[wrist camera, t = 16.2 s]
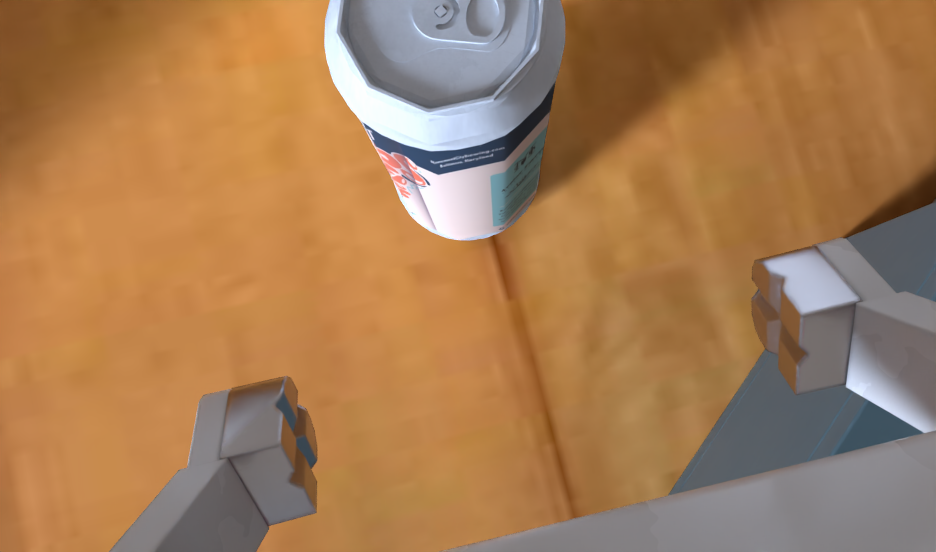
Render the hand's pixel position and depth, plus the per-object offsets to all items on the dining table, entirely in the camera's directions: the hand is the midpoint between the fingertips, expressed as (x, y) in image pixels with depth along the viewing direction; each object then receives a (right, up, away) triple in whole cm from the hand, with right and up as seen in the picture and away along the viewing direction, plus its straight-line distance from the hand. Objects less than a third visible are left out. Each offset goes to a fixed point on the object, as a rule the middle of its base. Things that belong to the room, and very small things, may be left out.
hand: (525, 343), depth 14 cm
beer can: (-1, +5, +13) cm, 14 cm away
